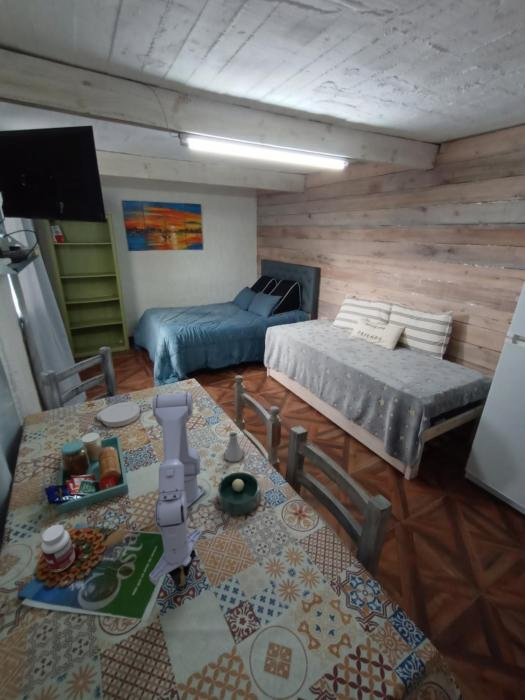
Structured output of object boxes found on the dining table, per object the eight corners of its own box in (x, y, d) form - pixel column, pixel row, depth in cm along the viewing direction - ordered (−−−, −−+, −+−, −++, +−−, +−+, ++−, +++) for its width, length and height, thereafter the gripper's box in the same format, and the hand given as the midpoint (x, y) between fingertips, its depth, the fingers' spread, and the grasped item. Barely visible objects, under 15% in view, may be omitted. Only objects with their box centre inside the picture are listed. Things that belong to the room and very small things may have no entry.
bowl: (210, 502, 103) (209, 490, 101) (236, 478, 113) (236, 466, 111) (242, 523, 96) (241, 510, 94) (266, 495, 106) (266, 483, 104)
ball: (229, 490, 107) (229, 481, 105) (237, 483, 110) (237, 474, 108) (238, 496, 105) (238, 487, 103) (246, 488, 108) (246, 479, 106)
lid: (109, 405, 158) (108, 400, 157) (147, 408, 156) (146, 403, 155) (87, 425, 142) (86, 419, 141) (128, 429, 140) (127, 423, 139)
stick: (175, 583, 80) (172, 561, 77) (181, 576, 81) (178, 555, 78) (180, 588, 78) (177, 566, 76) (187, 581, 80) (184, 560, 77)
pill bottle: (45, 563, 84) (34, 533, 80) (70, 546, 89) (61, 517, 85) (53, 578, 81) (43, 548, 76) (79, 560, 85) (70, 531, 81)
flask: (240, 463, 120) (239, 441, 116) (222, 460, 121) (221, 439, 118) (245, 451, 127) (244, 430, 123) (227, 448, 128) (226, 428, 124)
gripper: (160, 575, 66) (167, 615, 71) (209, 525, 77) (212, 563, 82) (140, 556, 70) (148, 595, 75) (189, 511, 81) (193, 548, 86)
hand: (180, 577), depth 79 cm, fingers closed on stick, 2 cm apart
